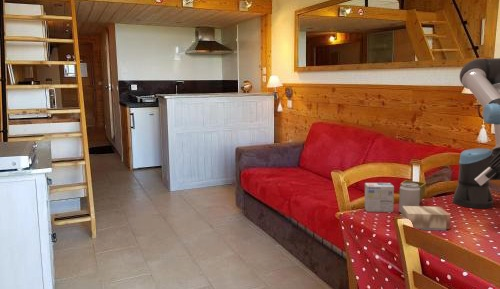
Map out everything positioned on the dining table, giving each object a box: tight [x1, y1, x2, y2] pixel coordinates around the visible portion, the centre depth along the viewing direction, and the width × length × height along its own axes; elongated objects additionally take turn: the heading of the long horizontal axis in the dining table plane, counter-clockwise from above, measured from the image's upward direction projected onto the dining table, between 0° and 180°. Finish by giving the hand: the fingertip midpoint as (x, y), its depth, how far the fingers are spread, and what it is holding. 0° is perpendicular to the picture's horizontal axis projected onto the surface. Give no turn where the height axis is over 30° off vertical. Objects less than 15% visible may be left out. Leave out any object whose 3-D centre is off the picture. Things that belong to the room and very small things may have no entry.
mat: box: [418, 228, 448, 232], centre depth 148 cm, size 13×13×1 cm
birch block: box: [401, 205, 452, 230], centre depth 147 cm, size 5×10×14 cm
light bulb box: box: [364, 182, 395, 213], centre depth 165 cm, size 11×7×11 cm, turn 84°
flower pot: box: [399, 180, 427, 204], centre depth 174 cm, size 9×9×9 cm
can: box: [398, 182, 421, 215], centre depth 160 cm, size 8×8×12 cm
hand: (477, 182), depth 143 cm, fingers closed
